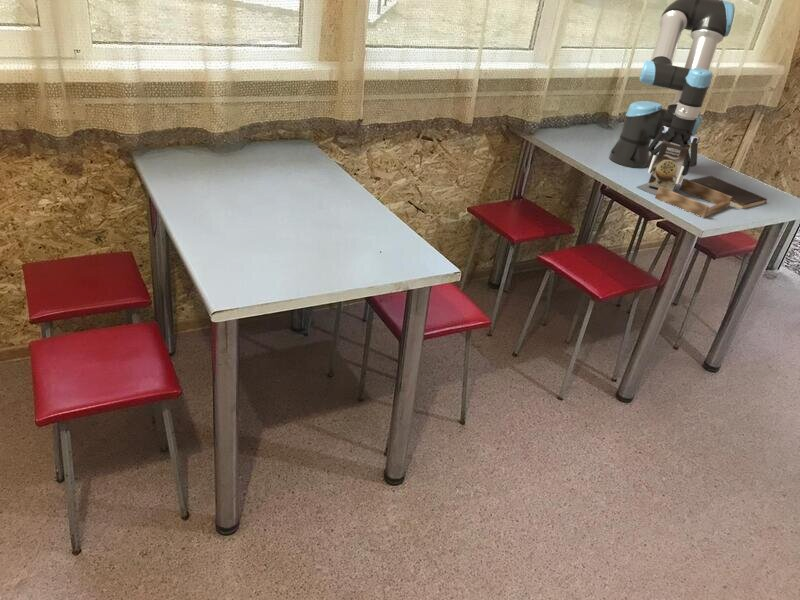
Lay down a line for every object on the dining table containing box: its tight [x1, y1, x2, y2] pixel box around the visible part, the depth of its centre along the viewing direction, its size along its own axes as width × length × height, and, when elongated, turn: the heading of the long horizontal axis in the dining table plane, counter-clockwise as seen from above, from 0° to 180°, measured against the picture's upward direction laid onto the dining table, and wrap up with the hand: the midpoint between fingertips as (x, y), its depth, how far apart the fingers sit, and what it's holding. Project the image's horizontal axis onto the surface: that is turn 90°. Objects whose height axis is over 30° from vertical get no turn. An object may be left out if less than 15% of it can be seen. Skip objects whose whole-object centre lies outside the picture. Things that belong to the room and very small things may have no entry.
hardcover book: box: [689, 175, 768, 210], centre depth 241 cm, size 16×23×2 cm
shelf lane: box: [654, 178, 732, 218], centre depth 228 cm, size 18×19×4 cm
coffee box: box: [647, 139, 691, 191], centre depth 232 cm, size 9×6×16 cm
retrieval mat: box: [635, 182, 679, 196], centre depth 237 cm, size 9×14×1 cm, turn 131°
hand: (664, 177), depth 234 cm, fingers closed on coffee box, 10 cm apart
